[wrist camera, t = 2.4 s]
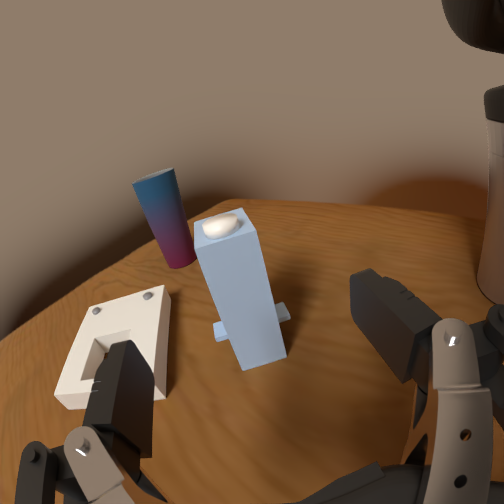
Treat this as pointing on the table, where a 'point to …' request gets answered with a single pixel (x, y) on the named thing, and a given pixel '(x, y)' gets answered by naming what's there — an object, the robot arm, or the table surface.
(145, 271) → the table surface
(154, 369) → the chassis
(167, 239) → the cup
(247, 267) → the block
